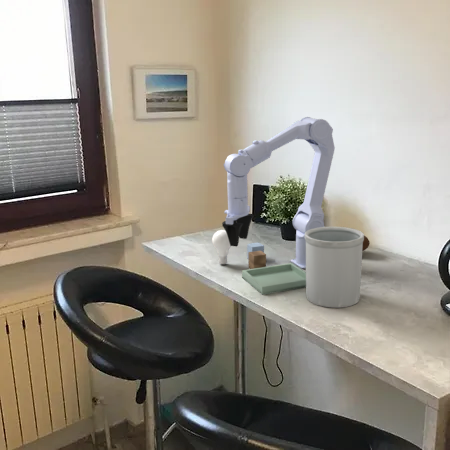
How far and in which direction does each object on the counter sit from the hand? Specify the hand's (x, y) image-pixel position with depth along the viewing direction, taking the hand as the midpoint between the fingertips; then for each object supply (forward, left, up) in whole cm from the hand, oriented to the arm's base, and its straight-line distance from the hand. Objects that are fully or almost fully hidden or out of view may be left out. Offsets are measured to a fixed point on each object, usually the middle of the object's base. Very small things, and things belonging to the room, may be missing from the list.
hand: (238, 242), depth 164 cm
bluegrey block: (-9, -9, -10) cm, 16 cm away
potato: (-40, -1, -10) cm, 42 cm away
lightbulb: (+2, -9, -10) cm, 13 cm away
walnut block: (-6, -1, -10) cm, 12 cm away
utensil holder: (-15, +27, -10) cm, 32 cm away
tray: (-7, +11, -10) cm, 16 cm away
